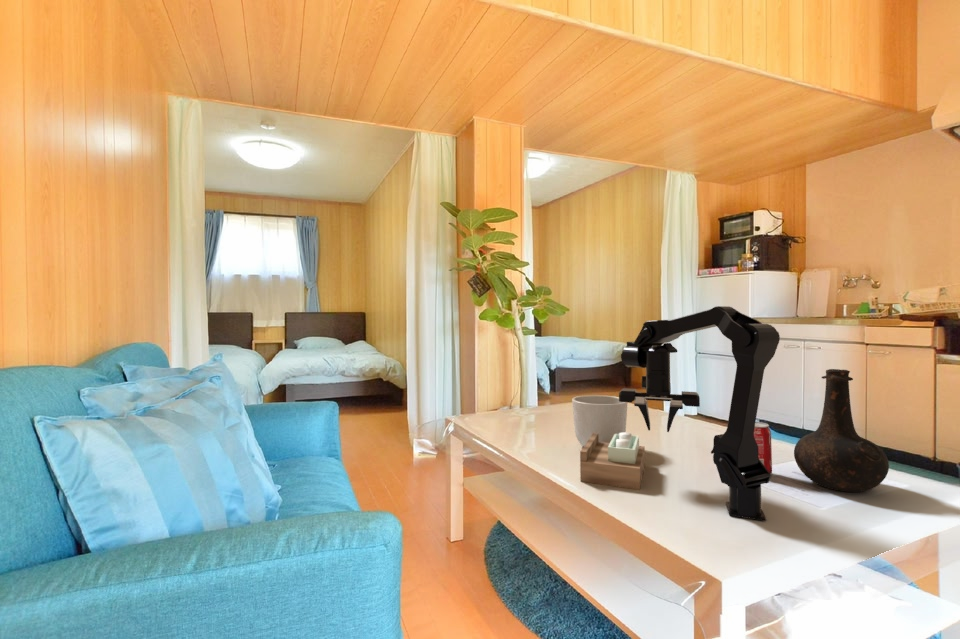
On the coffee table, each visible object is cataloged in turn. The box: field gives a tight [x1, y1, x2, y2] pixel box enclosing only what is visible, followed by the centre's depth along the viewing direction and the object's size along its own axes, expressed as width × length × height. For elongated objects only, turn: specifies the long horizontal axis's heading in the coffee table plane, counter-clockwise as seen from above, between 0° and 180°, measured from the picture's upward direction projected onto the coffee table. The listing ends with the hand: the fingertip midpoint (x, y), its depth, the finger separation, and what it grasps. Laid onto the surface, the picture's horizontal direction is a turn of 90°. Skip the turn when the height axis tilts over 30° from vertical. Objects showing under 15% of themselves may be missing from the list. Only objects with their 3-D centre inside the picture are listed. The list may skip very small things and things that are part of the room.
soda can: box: [754, 421, 773, 475], centre depth 115 cm, size 7×7×13 cm
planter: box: [571, 394, 629, 447], centre depth 140 cm, size 17×17×15 cm
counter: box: [579, 433, 646, 490], centre depth 117 cm, size 20×14×8 cm
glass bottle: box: [793, 368, 890, 493], centre depth 107 cm, size 18×18×28 cm
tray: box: [608, 431, 640, 464], centre depth 116 cm, size 14×6×5 cm, turn 156°
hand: (658, 430), depth 113 cm, fingers open, 4 cm apart
